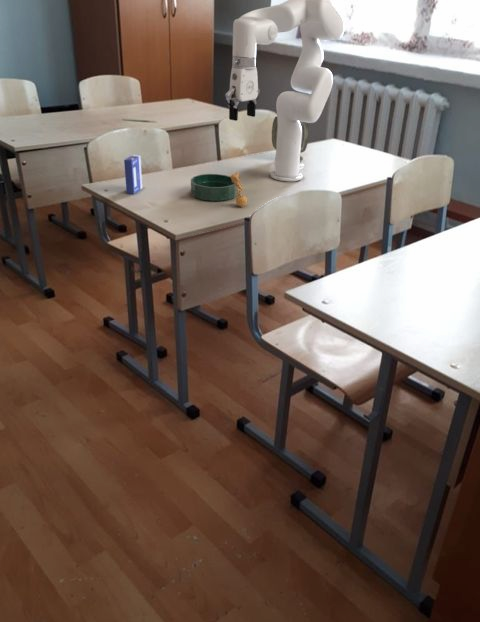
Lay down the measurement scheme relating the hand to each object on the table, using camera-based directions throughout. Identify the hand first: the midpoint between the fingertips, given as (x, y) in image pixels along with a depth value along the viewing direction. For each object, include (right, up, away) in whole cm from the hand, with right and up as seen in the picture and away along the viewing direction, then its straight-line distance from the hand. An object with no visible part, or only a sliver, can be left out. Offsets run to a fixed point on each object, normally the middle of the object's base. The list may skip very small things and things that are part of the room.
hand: (242, 118), depth 201 cm
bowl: (-11, -23, +12) cm, 28 cm away
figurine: (-1, -30, +3) cm, 30 cm away
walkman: (-39, -22, +11) cm, 46 cm away
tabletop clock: (+17, +5, +58) cm, 61 cm away
